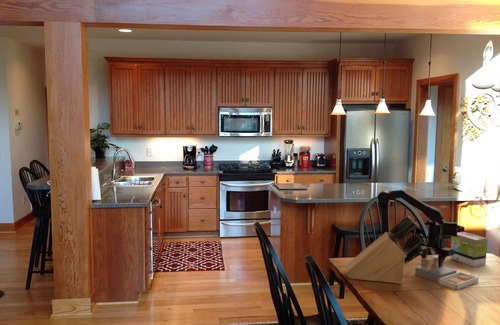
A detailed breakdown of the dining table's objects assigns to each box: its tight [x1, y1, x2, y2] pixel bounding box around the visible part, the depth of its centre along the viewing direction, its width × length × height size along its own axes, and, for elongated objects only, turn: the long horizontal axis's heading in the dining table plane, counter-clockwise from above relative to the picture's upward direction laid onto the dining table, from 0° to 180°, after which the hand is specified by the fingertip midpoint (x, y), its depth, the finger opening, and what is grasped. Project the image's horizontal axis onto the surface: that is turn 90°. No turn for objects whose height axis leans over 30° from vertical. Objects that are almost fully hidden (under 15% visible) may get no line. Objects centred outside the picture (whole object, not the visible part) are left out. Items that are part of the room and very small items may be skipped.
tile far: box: [457, 275, 474, 281], centre depth 197 cm, size 5×5×2 cm
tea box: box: [449, 231, 488, 268], centre depth 228 cm, size 15×10×15 cm, turn 25°
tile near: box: [448, 278, 464, 284], centre depth 193 cm, size 5×5×2 cm
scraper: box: [420, 254, 444, 271], centre depth 207 cm, size 14×3×5 cm, turn 124°
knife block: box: [344, 215, 427, 285], centre depth 198 cm, size 11×35×31 cm, turn 76°
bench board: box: [414, 265, 457, 283], centre depth 205 cm, size 14×13×4 cm
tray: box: [437, 271, 479, 291], centre depth 196 cm, size 18×9×2 cm, turn 123°
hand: (432, 265), depth 207 cm, fingers open, 8 cm apart
